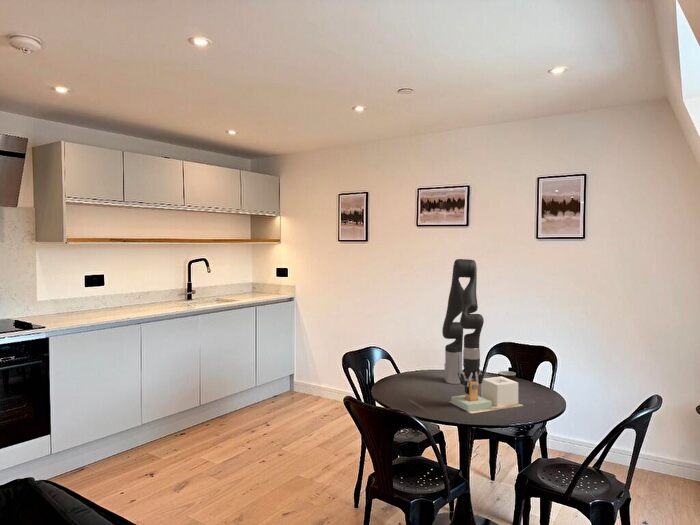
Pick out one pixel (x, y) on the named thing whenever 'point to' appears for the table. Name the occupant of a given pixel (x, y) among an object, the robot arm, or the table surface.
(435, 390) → the table surface
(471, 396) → the plug
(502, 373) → the coffee mug
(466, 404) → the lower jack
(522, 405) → the jack board
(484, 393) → the white socket block
